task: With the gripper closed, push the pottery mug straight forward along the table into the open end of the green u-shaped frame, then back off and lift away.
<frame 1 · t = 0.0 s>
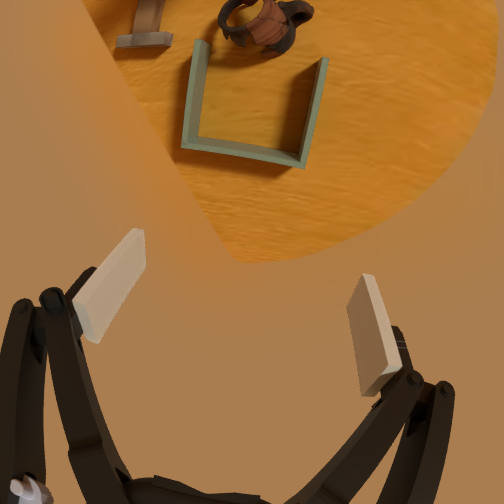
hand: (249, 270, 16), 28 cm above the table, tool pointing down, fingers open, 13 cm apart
hammer: (156, 2, 27), on the table
pottery mug: (269, 26, 29), on the table
green u-shaped frame: (255, 98, 35), on the table
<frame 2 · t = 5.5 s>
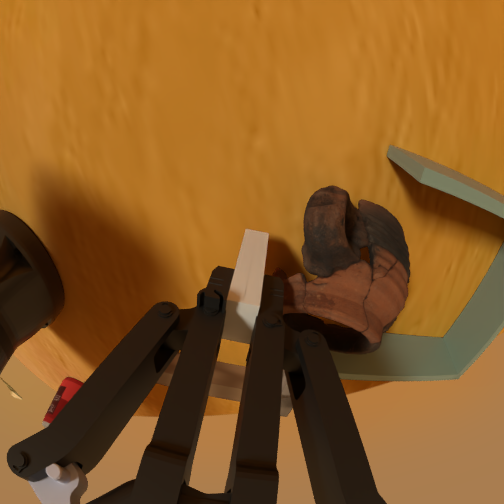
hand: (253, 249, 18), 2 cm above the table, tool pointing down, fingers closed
hammer: (225, 369, 29), on the table
pottery mug: (336, 244, 20), on the table, touching gripper
canned food: (83, 388, 40), on the table
green u-shaped frame: (430, 271, 20), on the table
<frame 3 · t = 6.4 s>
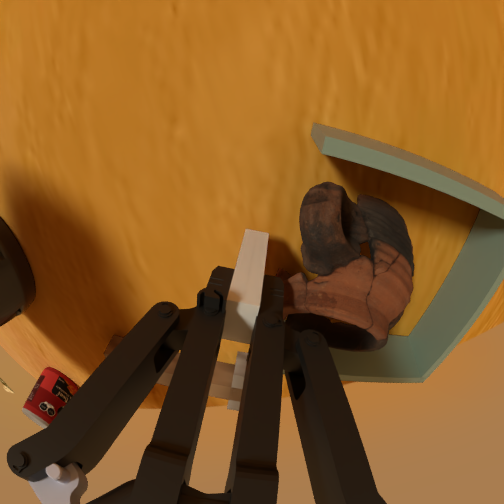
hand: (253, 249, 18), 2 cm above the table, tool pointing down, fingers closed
hammer: (180, 359, 29), on the table
pottery mug: (338, 241, 19), on the table, touching gripper
canned food: (62, 378, 40), on the table
green u-shaped frame: (380, 261, 20), on the table
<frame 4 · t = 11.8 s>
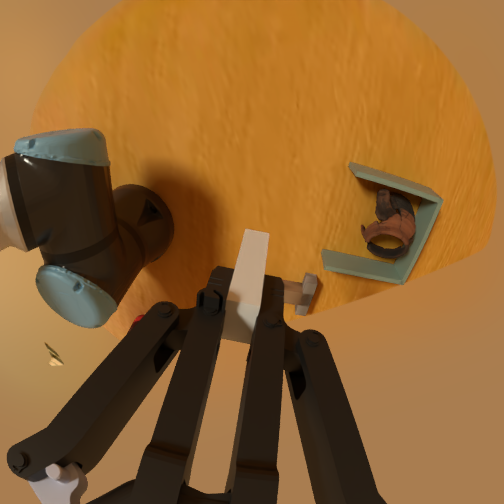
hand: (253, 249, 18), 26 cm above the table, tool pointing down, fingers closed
hammer: (269, 283, 54), on the table
pottery mug: (384, 212, 43), on the table
green u-shaped frame: (376, 220, 44), on the table
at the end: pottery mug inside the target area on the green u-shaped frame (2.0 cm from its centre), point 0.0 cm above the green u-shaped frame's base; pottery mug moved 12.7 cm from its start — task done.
